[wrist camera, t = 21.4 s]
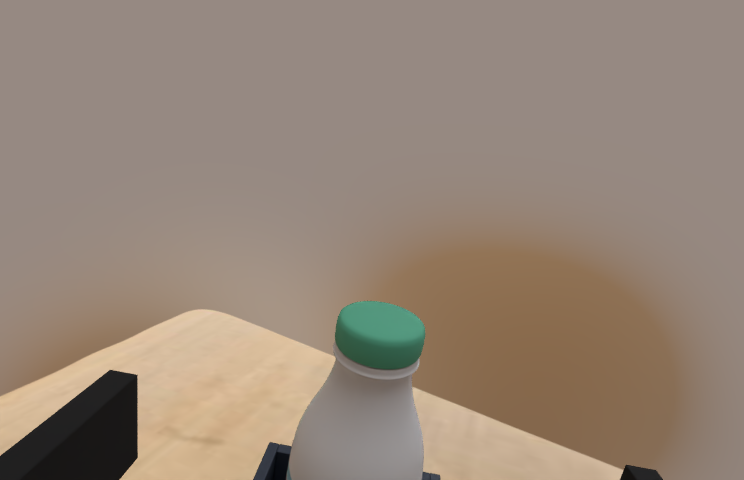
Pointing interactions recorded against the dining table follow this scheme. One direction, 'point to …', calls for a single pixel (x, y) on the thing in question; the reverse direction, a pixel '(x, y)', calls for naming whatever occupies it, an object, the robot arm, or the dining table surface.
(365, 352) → the milk bottle
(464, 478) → the dining table surface
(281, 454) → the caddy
